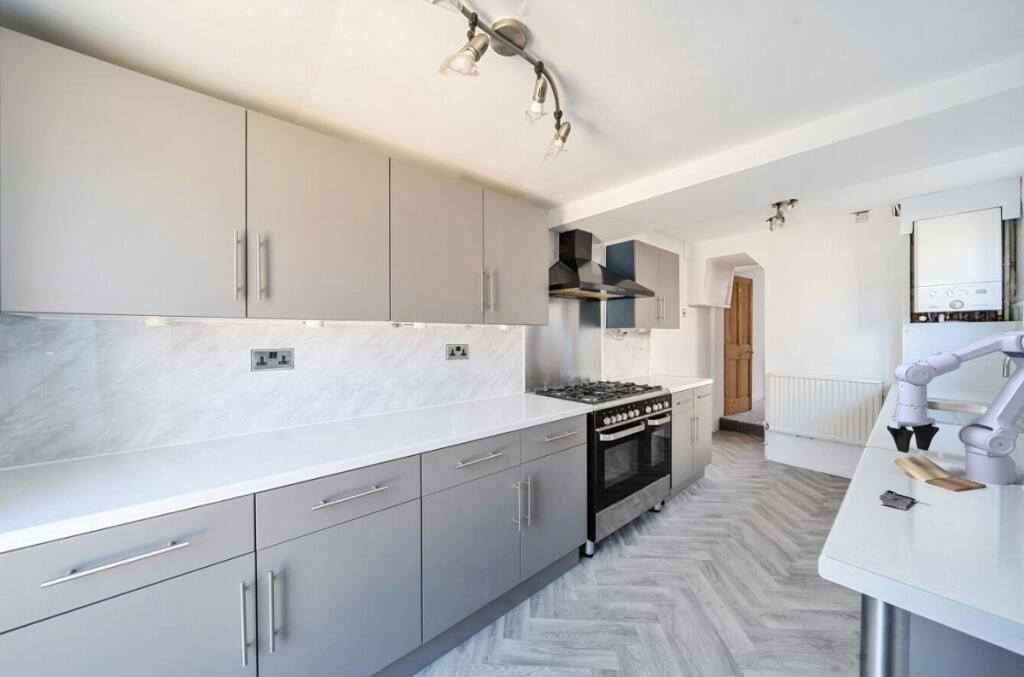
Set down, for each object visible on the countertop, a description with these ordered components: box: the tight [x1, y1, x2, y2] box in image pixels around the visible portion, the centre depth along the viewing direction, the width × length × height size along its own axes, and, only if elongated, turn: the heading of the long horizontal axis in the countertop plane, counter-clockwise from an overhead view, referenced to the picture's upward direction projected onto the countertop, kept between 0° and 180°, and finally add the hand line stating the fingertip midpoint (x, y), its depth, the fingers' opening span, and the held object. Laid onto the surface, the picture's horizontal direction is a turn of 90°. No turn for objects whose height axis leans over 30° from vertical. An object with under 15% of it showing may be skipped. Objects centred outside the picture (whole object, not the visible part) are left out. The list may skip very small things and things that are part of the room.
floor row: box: [927, 476, 987, 493], centre depth 106 cm, size 11×16×2 cm
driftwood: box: [878, 489, 916, 511], centre depth 97 cm, size 21×7×2 cm, turn 117°
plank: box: [893, 455, 955, 483], centre depth 108 cm, size 11×8×2 cm
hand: (912, 450), depth 109 cm, fingers open, 7 cm apart
